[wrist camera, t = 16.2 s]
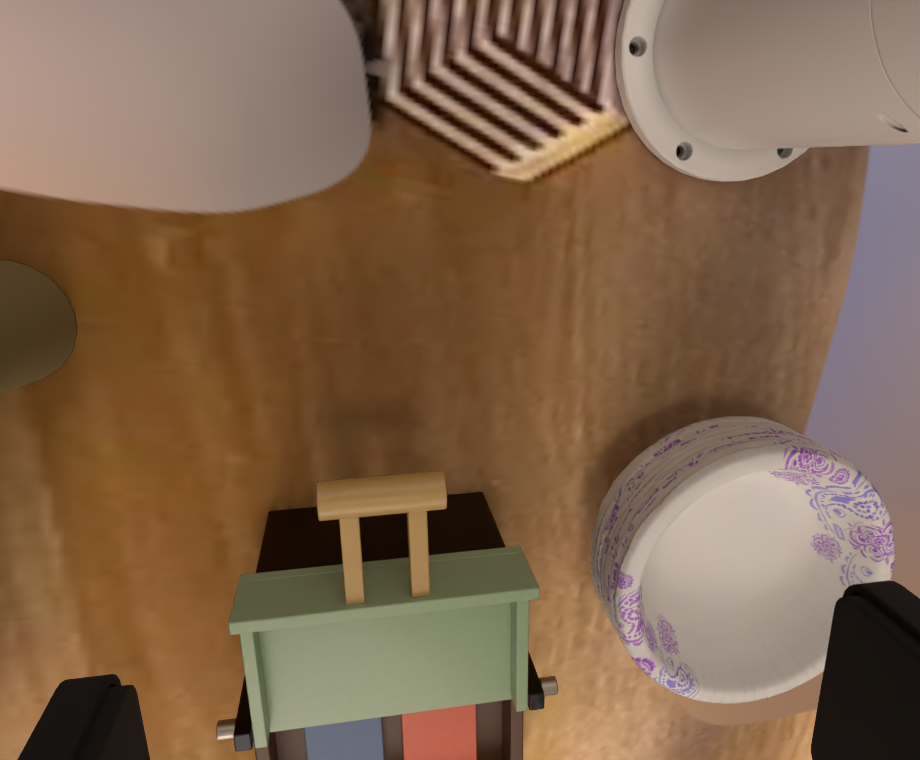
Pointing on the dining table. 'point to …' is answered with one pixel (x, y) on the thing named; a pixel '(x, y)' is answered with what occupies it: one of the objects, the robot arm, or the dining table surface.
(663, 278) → the dining table surface
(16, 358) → the pepper mill
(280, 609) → the green handled tray
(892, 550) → the paper bowls
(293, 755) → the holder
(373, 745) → the blue sachet
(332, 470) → the dining table surface
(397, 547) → the stand
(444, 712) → the coral sachet
